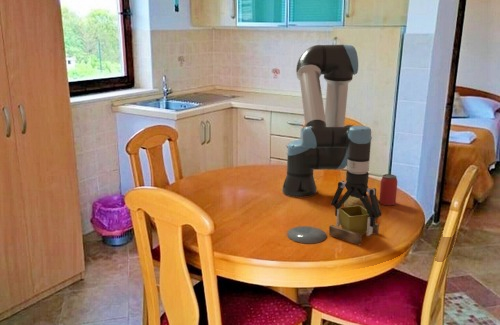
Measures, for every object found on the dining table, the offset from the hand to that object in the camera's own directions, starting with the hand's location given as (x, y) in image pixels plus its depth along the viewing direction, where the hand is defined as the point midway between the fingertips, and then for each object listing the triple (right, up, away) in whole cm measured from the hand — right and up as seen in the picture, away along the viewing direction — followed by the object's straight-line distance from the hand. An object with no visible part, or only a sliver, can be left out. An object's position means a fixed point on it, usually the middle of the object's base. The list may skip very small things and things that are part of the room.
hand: (354, 229), depth 176 cm
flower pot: (0, -2, +1) cm, 2 cm away
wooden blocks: (0, -2, +1) cm, 2 cm away
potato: (+5, +4, +20) cm, 21 cm away
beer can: (+21, +7, +31) cm, 38 cm away
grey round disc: (-17, -2, 0) cm, 17 cm away
